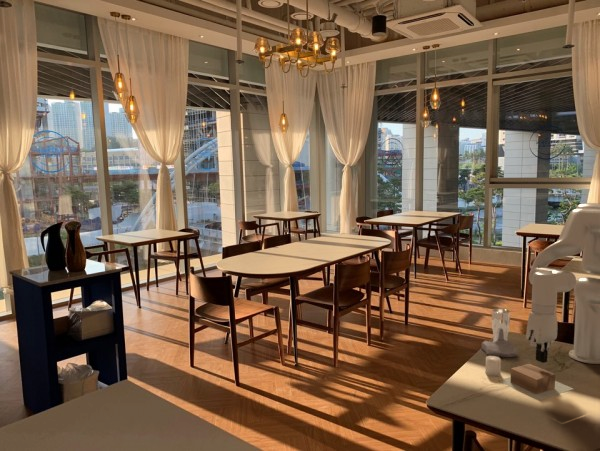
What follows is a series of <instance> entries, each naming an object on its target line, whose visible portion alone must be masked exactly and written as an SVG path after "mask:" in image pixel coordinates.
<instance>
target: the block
mask: <svg viewBox="0 0 600 451" xmlns="http://www.w3.org/2000/svg"><path fill="white" fill-rule="evenodd" d="M510 377H511V383H513V384H515V385H517V386H519V387H521V388H523V389H526V390H528V391H530V392H532V393H534V394H539V393H542V392H546V391H549V390H552V389H555V381H556V374H555V373H554V372H551V371H549V370H546V369H544V368H541V367H539V366H536V365H533V364H531V363H527V364H523V365H519V366H514V367H512V368H510Z"/></svg>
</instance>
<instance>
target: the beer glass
mask: <svg viewBox="0 0 600 451" xmlns="http://www.w3.org/2000/svg"><path fill="white" fill-rule="evenodd" d="M491 311H492V313H491V328H492V335H493V336H492V338H493V339H492V342H496V341H502V340H507V341H508V335H509V329H510V324H511V323H510V322H511V314H510V310H508V309H506V308H505V309H504V308H493V309H492V310H491Z"/></svg>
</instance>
